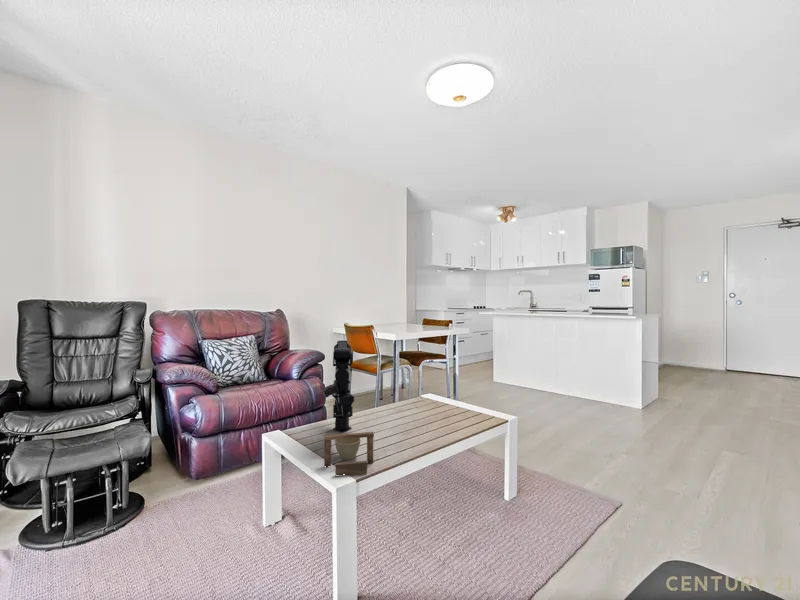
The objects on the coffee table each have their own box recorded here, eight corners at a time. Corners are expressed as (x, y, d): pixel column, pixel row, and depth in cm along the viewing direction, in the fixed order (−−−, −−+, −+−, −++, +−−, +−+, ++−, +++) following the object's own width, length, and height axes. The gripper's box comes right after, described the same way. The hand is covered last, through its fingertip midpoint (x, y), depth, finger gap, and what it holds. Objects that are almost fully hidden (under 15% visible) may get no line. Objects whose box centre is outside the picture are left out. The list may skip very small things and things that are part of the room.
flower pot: (348, 450, 159) (348, 433, 159) (365, 456, 152) (365, 438, 152) (329, 458, 151) (329, 440, 151) (347, 465, 145) (347, 446, 145)
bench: (324, 464, 145) (324, 435, 145) (372, 460, 149) (372, 431, 149) (324, 477, 135) (324, 445, 135) (377, 472, 139) (377, 441, 139)
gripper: (319, 375, 173) (319, 410, 173) (327, 383, 155) (327, 422, 155) (344, 373, 177) (344, 408, 177) (354, 381, 159) (354, 419, 159)
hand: (342, 414), depth 167 cm, fingers open, 9 cm apart
